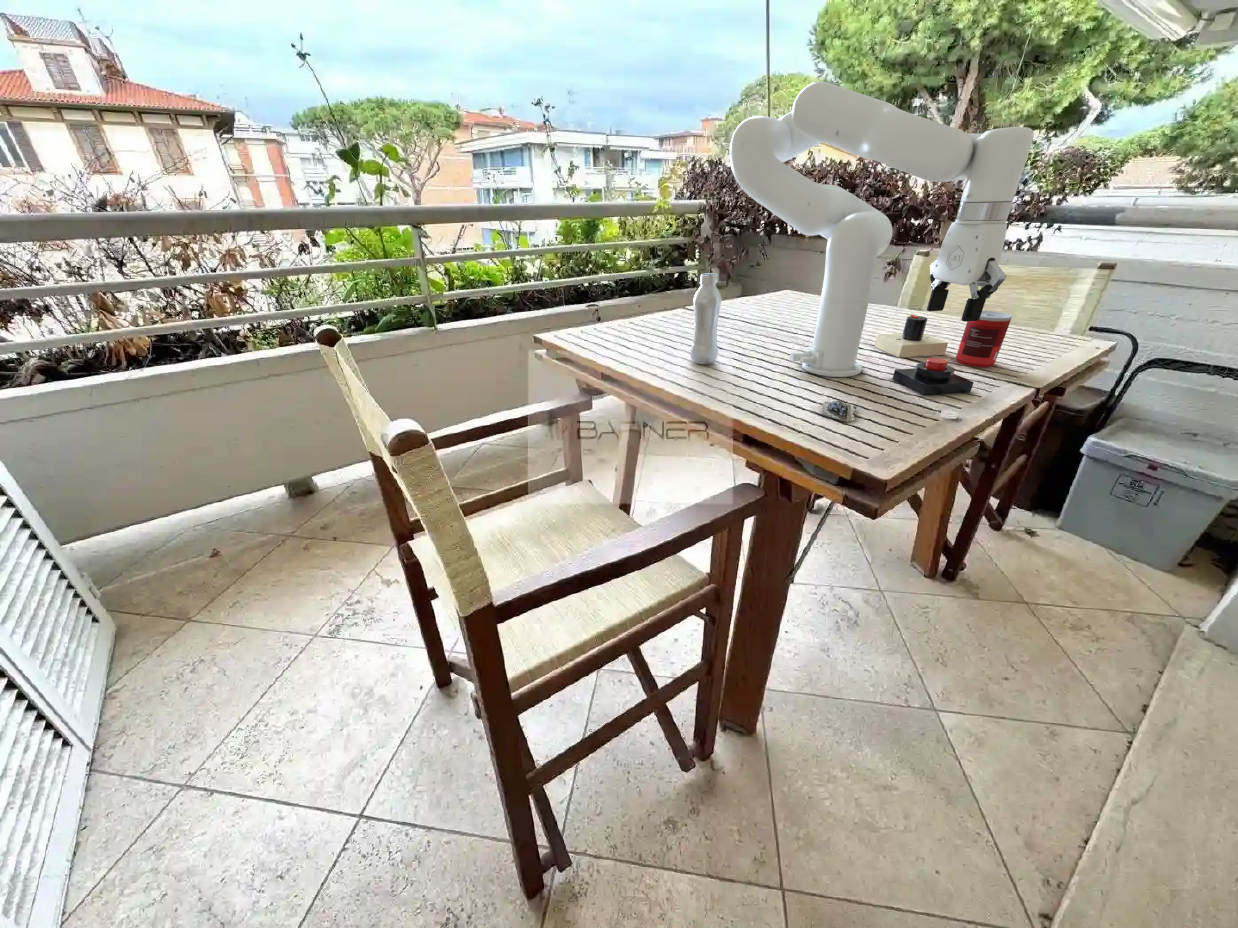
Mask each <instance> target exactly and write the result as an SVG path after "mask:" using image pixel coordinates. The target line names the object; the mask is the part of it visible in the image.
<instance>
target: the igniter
mask: <svg viewBox="0 0 1238 928" xmlns="http://www.w3.org/2000/svg"><path fill="white" fill-rule="evenodd" d="M926 362H927V361H925V362H919V363H917V364H916V365H915V368H900V369H897V368H896V369H894V372H893V375H892V380H893V381H895V382H896V383H899V384H900V385H902V386H904V387H906V388H908V389H910V390H912V391H913V392H916V393H918V394H919V395H921V396H923V397H926V396H928V397H929V396H941V395H942V396H943V395H955V394H969V393H971V392H972V389H973V386H974V383H975V382H974V381H972V380H969V379H967V378H965V377H963V376H960V375H958V374H956V373H955V370H956V369H955V368H954V367H953V366H951V365H948V364H947V366H946V370H932V369H928V368H925V365H926Z"/></svg>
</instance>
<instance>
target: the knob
mask: <svg viewBox="0 0 1238 928" xmlns="http://www.w3.org/2000/svg"><path fill="white" fill-rule="evenodd" d="M927 323H928V318H927V317H925V316H920V315H919V316H918V315H915V314H910V315H909V316H906V320H905V324H904V327H903V330H902V333H901V334H902V338H903V339H905V340H911V341H919V340H922V337H923V334H925V330H926V326H927Z"/></svg>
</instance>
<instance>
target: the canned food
mask: <svg viewBox="0 0 1238 928" xmlns="http://www.w3.org/2000/svg"><path fill="white" fill-rule="evenodd" d="M1012 317H1013V316H1012V315H1011V314H1009V313H1006V312H1002V311H995V310H982V313H981V316H980V319H979V320H978V321H967V322H966V325H965V327H964V330H963V333H962V336H961V340H960V343H959V345H958V349H957V353H956V355H955V361H956V363H958V364H961V365H963V366H967V367H972V368H980V369H981V368H991V367H994V365H995V364H996V361H997V358H998V356H999V353H1000V350H1001V348H1002V345H1003V343H1004V340H1005V338H1006V335H1007V332H1008V329H1009V326H1010V323H1011V321H1012Z"/></svg>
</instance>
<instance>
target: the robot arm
mask: <svg viewBox="0 0 1238 928" xmlns="http://www.w3.org/2000/svg"><path fill="white" fill-rule="evenodd" d="M1034 134H1035V133H1034V129H1032V128H1031V127H1027V126H1012V127H1000V128H994V129H989V130H986V131H985V132H983V133H974V132H973V133H971V132H965V131H963V130H961V129H960V128H959V129H958V128H956V127H953V126H950V125H948V124H947V125H946V124H944V123H941V122H938V121H934V120H931V119H928V118H926V117H922V116H920V115H917V114H914V113H912V112H908V111H906V110H903V109H901V108H899V107H897V106H895V105H894V104H892V103H891V102H890V103H889V102H888V101H885V100H882V99H878V98H875V97H872V96H869V95H866V94H863V93H861V92H857V91H854V90H851V89H849V88H845V87H842V86H840V85H838V84H837V85H836V84H834V83H830V82H828V81H814V82H811V83H809V84H807V85H806V86H805V87H804V88H802V89H801V91H799V93H798V94H797V95H796V98H795V99H794V102H793V105H792V109H791V111H789V112H787V113H786V114H784V115H783V116H781V117H779V118H775V117H771V116H767V115H766V116H765V115H755V116H751V117H748V118H746V119H744V120H743V121H742V122H740V123H739V125H737V127H736V128H735V130H734V132H733V134H732V137H731V141H730V145H729V161H730V162H729V163H730V169H731V171H732V172H731V173H732V174H733V177H734V179H735V181H736V183H737V185H738V187H740V188H741V190H742V191H743V192H744V193H745V194H746V195H747V196H749V197H750V198H751V199H752V200H754V201H755V202H757V203H758V204H759V205H761V206H762V207H763V208H765V209H766V210H768V211H769V212H771V213H772V214H773V215H774V216H776V217H777V218H778V219H780V220H782V221H783V222H785V223H786V224H788V225H789V226H791V228H793V229H794V230H795V231H797V232H799V233H800V234H802V235H804V236H809V237H811V236H812V237H813V236H821V237H822V238H824V239H826V240H827V243H826V248H825V249H826V250H825V259H824V260H825V261H824V262H825V263H824V275H823V280H822V289H821V294H820V300H819V307H818V311H817V318H816V323H815V329H814V333H813V334H814V336H813V341H812V346H807V348H806V350H804V351H803V352H791V353H790V354H789V360H790V361H789V362H799V363H800V364H801V368H802V369H803V370H805V371H806V372H809V373H811V374H814V375H818V376H822V377H831V378H849V377H854V376H858V375H859V374H861V373H862V369H863V366H862V364H861V363H859V362H858V361H857V358H858V353H859V349H860V343H861V340H862V335H863V329H864V325H865V321H866V316H867V313H868V307H869V303H870V297H871V294H872V290H873V283H874V279H875V278H874V277H875V273H876V264H877V258H878V257H879V256H880V255H882V253H883V252H885V250H887V248H888V247H889V245H890V243H891V241H892V239H893V226H892V222H891V220H890V219H889V217H888V216H887V215H886V214H884V213H883V212H882V211H880V210H878V209H877V208H875V207H874V206H873V205H870V204H869V203H867V202H866V201H864V200H863V199H861V198H859V197H858V196H857V195H855V194H853V193H851V192H850V191H848V190H847V189H844V188H843V187H840V186H838V185H834V184H823V183H818V182H815V181H814V180H812V179H810V178H808V177H806V176H805V175H804V174H802V173H800V172H799V171H798V170H796V169H795V168H793V167H791V166H790V165H787V164H785V163H786V162H788V161H789V160H792V159H793V158H795V157H797V156H799V155H801V154H803V153H805V152H807V151H809V150H811V149H813V148H814V147H817V146H818V145H820V144H822V143H825V144H827V145H830V146H833V147H835V148H838V149H840V150H842V151H845V152H847V153H850V154H853V155H856V156H857V157H860V158H863V159H865V160H871V161H874V162H878V163H880V164H883V165H885V166H888V167H891V168H893V169H896V170H898V171H901V172H904V173H906V174H909V175H912V176H914V177H916V178H919V179H921V180H924V181H927V182H930V183H931V182H933V183H948V182H953V181H958V180H965V183H964V187H963V192H962V195H961V199H960V202H959V205H958V209H957V213H956V216H955V219H954V221H952V222H951V224H950V225H949V227H948V229H947V232H946V234H945V236H944V239H943V241H942V244H941V246H940V249H939V252H938V254H937V258H936V260H935V261H934V262H932V263H930V265H929V273H930V277H929V280H930V283H931V284H930V290H931V292H930V296H929V300H928V304H927V307H926V311H927V312H941V311H944V309H945V305H946V302H947V298H948V295H949V292H950V291H949V290H950V289H948V287H949V286H950V285H951V284H955V285H960V286H968V288H969V291H970V297H968V298H967V300H966V302H965V306H964V309H963V312H962V315H961V318H960V320H961V321H962V322H965V323H967V321H978V320H979V319H980V316H981V313H982V311H984V306H985V303H986V301H987V299H990V298H991V296H992V294H994V293H995V292H997V291H998V289H999V287H1000V286H1001V285H1002V284H1003V283H1004V282H1005V281H1006V279H1007V275H1006V273H1005V271H1004V270H1002V268H1001V267H1000V266H999V265H1000V261H1001V259H1002V254H1003V250H1004V247H1005V241H1006V236H1007V229H1008V223H1007V221H1008V217H1009V215H1010V212H1011V208H1012V205H1013V202H1014V199H1015V196H1016V193H1017V190H1018V187H1019V184H1020V181H1021V179H1022V175H1023V172H1024V169H1025V166H1026V163H1027V160H1028V156H1029V154H1030V150H1031V147H1032V144H1033V141H1034V137H1035V136H1034ZM979 287H980V289H979Z"/></svg>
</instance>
